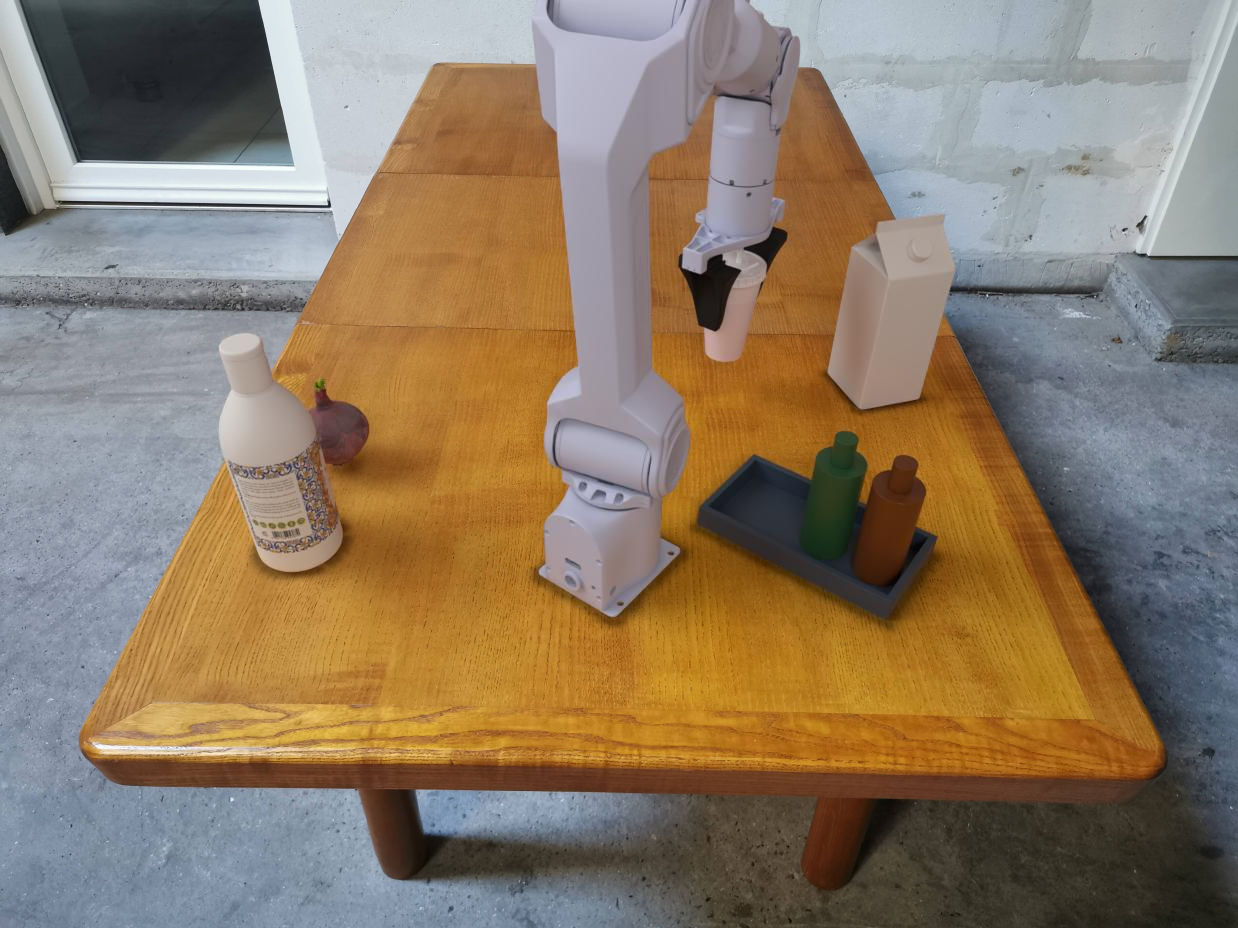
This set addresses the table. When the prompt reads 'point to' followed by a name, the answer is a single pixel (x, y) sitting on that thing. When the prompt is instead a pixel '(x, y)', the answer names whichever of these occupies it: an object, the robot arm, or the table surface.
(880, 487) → the brown bottle
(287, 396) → the bath foam
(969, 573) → the table surface
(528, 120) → the table surface
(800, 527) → the tray
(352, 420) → the vegetable
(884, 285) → the milk carton
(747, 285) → the smoothie
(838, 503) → the green bottle
